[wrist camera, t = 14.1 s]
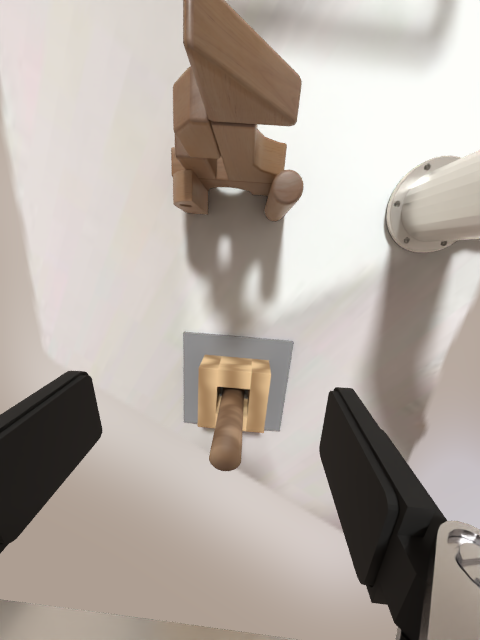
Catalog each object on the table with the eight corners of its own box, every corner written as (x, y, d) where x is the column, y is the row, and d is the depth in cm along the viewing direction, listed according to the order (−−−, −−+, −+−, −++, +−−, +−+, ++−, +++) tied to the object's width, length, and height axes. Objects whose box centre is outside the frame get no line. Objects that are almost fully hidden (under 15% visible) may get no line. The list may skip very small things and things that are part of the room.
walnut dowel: (245, 377, 42) (242, 448, 27) (243, 394, 43) (239, 472, 28) (224, 375, 42) (209, 444, 27) (223, 393, 44) (208, 469, 28)
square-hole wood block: (268, 360, 41) (271, 374, 36) (262, 413, 45) (263, 432, 40) (204, 354, 41) (198, 368, 36) (203, 408, 45) (197, 426, 40)
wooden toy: (185, 215, 35) (42, 135, 11) (185, 166, 33) (10, -64, 9) (283, 222, 34) (357, 155, 11) (289, 173, 32) (397, -47, 9)
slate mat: (293, 341, 40) (293, 342, 40) (279, 429, 46) (279, 431, 46) (184, 331, 41) (183, 332, 40) (184, 420, 47) (183, 422, 46)
